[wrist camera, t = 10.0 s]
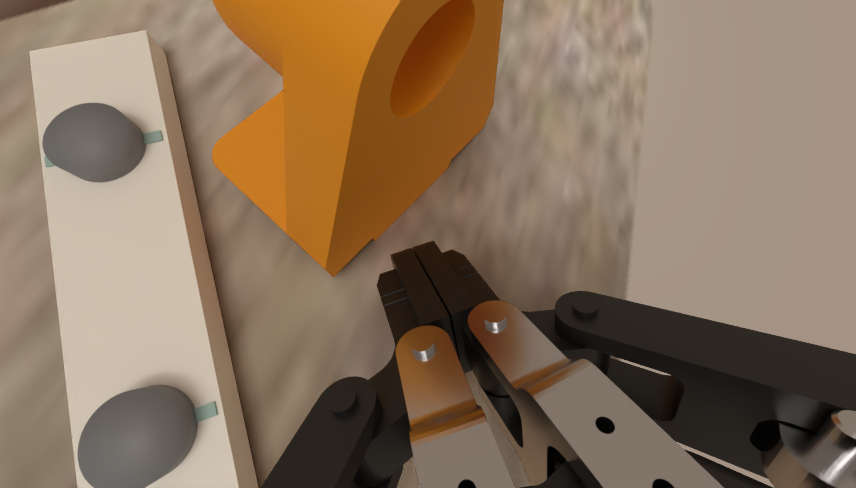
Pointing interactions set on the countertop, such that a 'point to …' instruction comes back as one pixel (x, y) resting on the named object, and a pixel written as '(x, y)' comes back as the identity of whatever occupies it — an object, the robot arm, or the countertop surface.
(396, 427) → the robot arm
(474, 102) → the bracket
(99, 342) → the board
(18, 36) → the countertop surface
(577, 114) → the countertop surface
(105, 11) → the countertop surface
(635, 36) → the countertop surface
